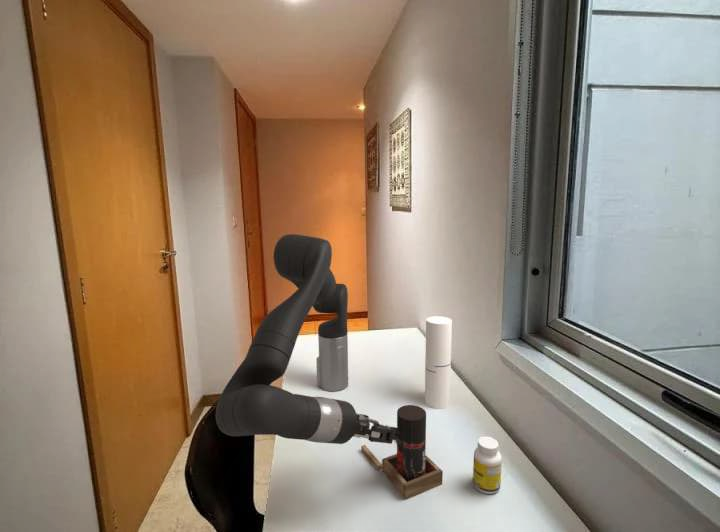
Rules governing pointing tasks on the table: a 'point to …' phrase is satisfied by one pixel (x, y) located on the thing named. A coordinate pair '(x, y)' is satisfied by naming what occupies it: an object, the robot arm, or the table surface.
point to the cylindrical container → (438, 362)
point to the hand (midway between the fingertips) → (381, 426)
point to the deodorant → (411, 442)
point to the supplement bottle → (487, 466)
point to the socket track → (405, 488)
